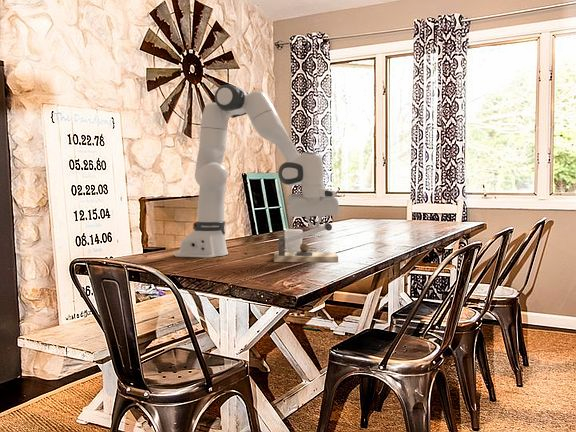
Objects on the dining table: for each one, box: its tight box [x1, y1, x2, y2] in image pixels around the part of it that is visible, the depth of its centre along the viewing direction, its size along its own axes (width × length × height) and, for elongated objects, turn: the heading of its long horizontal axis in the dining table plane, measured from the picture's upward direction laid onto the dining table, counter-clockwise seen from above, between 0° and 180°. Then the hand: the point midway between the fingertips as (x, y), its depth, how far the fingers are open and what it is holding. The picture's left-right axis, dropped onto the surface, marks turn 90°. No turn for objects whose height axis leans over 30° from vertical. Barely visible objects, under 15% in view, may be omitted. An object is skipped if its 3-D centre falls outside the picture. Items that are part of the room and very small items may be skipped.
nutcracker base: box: [273, 235, 339, 263], centre depth 221 cm, size 25×12×9 cm, turn 90°
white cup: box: [283, 228, 304, 252], centre depth 240 cm, size 8×8×10 cm
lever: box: [285, 222, 333, 243], centre depth 220 cm, size 22×6×3 cm, turn 91°
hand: (314, 227), depth 220 cm, fingers closed
